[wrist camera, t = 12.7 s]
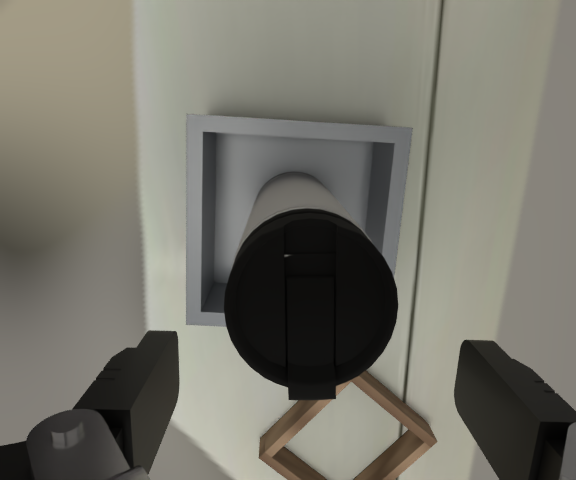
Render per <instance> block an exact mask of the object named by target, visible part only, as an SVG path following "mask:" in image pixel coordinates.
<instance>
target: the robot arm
mask: <svg viewBox="0 0 576 480" xmlns="http://www.w3.org/2000/svg"><path fill="white" fill-rule="evenodd" d="M178 393H179V355H178V336H177V332H176V331H151V330H150V331H148V332H147V333H146V334H145V336H144V337H143V339H142V340H141V342H140V343H139V345H138V346H137V348H126V349H124V350H123V351H121V352H120V353H118V354H116V355H115V356H113V357H112V358H111V359H110V361H109V362H108V363H107V364H106V366H105V367H104V370H103V371H101V372H100V374H99V375H98V376H97V378H96V380H95V381H94V382H93V383H92V384H91V386H90V387H89V388H88V389H87V391H86V392H85V393H84V394H83V396H82V397H81V398H80V400H79V401H78V402H77V404H76V405H75V406H74V408H73V409H72V410H67V411H63V412H60V413H57V414H54V415H52V416H50V417H48V418H46V419H44V420H43V421H41V422H40V423H39V424H37V425H36V426H35V427H34V428H33V429H32V430H31V431H30V433H29V434H28V436H27V440H26V441H23V442H19V443H14V444H8V445H4V446H0V480H150V478H149V477H148V474H149V471H150V469H151V466H152V464H153V461H154V459H155V456H156V454H157V451H158V449H159V446H160V444H161V441H162V439H163V436H164V434H165V431H166V429H167V426H168V424H169V421H170V419H171V416H172V414H173V411H174V409H175V406H176V403H177V399H178ZM454 399H455V405H456V408H457V411H458V413H459V415H460V416H461V418H462V420H463V421H464V423H465V425H466V426H467V428H468V429H469V431H470V433H471V434H472V436H473V438H474V439H475V441H476V442H477V444H478V446H479V447H480V449H481V450H482V452H483V454H484V455H485V457H486V459H487V460H488V462H489V463H490V465H491V467H492V468H493V470H494V471H495V473H496V475H497V476H498V478H499V480H576V411H575V410H574V409H573V408H572V407H571V406H570V405H569V404H568V403H567V402H566V401H565V400H563V399H562V398H561V397H560V396H559V395H558V394H557V393H555V392H554V390H553V389H552V388H551V387H550V386H549V385H548V384H547V383H544V380H543V379H542V378H541V377H540V376H538V375H537V374H536V373H535V372H534V371H533V370H532V369H531V368H529V367H527V366H525V365H524V364H522V363H520V362H518V361H517V360H515V359H511V358H510V357H509V356H508V355H507V354H506V353H505V352H504V351H503V350H502V349H501V348H500V347H499V346H498V345H497V344H496V343H495V342H494V341H487V340H464V341H463V343H462V345H461V348H460V354H459V361H458V368H457V375H456V381H455V388H454Z"/></svg>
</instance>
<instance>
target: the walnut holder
mask: <svg viewBox="0 0 576 480" xmlns="http://www.w3.org/2000/svg"><path fill="white" fill-rule="evenodd" d="M350 382H353V383H354V384H355V385H356V386H357V387H359V388H360V389H361V390H362V391H363V392H365V393H366V394H367V395H368V396H369V397H371V398H372V399H373V400H374V401H375V402H377V403H378V404H379V405H380V406H381V407H383V408H384V409H385V410H386V411H388V412H389V413H390V414H391V415H392V416H394V417H395V418H396V419H397V420H398V421H400V422H401V423H402V424H403V425H404V426H406V427H407V428H408V429H409V430H408V431H407V432H406V433H405V434H404V435H403V436H401V437H400V438H399V439H398V440H397V441H396V442H395V443H394V444H393V445H391V446H390V447H389V448H388V449H387V450H386V451H385V452H384V453H383V454H381V455H380V456H379V457H378V458H377V459H376V460H375V461H374V462H373V463H371V464H370V465H369V466H368V467H367V468H366V469H365V470H364V471H363V472H361V473H360V474H359V475H358V476H357V477H356V478H355V479H354V480H394V479H396V478H397V477H398V476H399V475H400V474H401V473H402V472H404V471H405V470H406V469H407V468H408V467H409V466H410V465H411V464H413V463H414V462H415V461H416V460H417V459H418V458H419V457H421V456H422V455H423V454H424V453H425V452H426V451H427V450H429V449H430V448H431V447H432V446H433V445H434V444H435V443H436V442H437V440H436V438H435V436H434V434H433V432H432V430H431V428H430V426H429V424H428V423H427V422H426V421H425V420H424V419H423V418H421V417H420V416H419V415H418V414H417V413H415V412H414V411H413V410H412V409H411V408H410V407H408V406H407V405H406V404H405V403H404V402H402V401H401V400H400V399H399V398H398V397H396V396H395V395H394V394H393V393H392V392H391V391H389V390H388V389H387V388H386V387H385V386H383V385H382V384H381V383H380V382H379V381H378V380H376V379H375V378H374V377H373V376H372V375H370V374H369V373H368V372H367V371H366V370H365V371H364V372H363V373H362V374H360V375H359V376H358V377H356V378H354V379H352V380H350V381H348V382H346V383H343V384H340V385H338V386H336V395H338V394H339V393H340V392H341V391H342V390H343V389H344V388H345V387H346V386H347V385H348V384H349V383H350ZM331 400H332V399H329V400H299V401H298V402H297V403H296V404H295V405H294V406H293V407H292V408H291V409H290V410H289V411H288V412H287V413H286V414H285V415H284V416H283V417H282V418H281V419H279V420H278V421H277V422H276V423H275V424H274V425H273V426H272V427H271V428H270V429H269V430H268V431H267V432H266V433H265V434H264V435H263V436H262V437H261V438H260V447H259V459H261V460H262V461H263V462H265V463H266V464H267V465H269V466H270V467H271V468H273V469H274V470H275V471H277V472H278V473H279V474H281V475H282V476H283V477H285V478H286V479H287V480H327V479H325V478H324V477H323V476H321V475H320V474H319V473H318V472H316V471H315V470H314V469H312V468H311V467H310V466H308V465H307V464H306V463H304V462H303V461H302V460H301V459H299V458H298V457H297V456H295V455H294V454H293V453H291V452H290V451H289V450H287V449H286V448H285V447H284V445H285V444H286V443H287V442H288V441H289V440H290V439H291V438H292V437H294V436H295V435H296V434H297V433H298V432H299V431H300V430H301V429H302V428H303V427H304V426H305V425H306V424H307V423H308V422H309V421H310V420H311V419H312V418H313V417H314V416H316V415H317V414H318V413H319V412H320V411H321V410H322V409H323V408H324V407H325V406H326V405H327V404H328V403H329V402H330V401H331Z"/></svg>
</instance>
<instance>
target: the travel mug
mask: <svg viewBox="0 0 576 480" xmlns="http://www.w3.org/2000/svg"><path fill="white" fill-rule="evenodd" d="M397 311H398V297H397V288H396V284H395V281H394V277H393V274H392V271H391V269H390V268H389V266H388V264H387V262H386V260H385V258H384V257H383V255H382V254H381V253H380V252H379V251H378V249H377V248H376V247H375V246H374V244H373V243H372V241H371V239H370V238H369V237H368V236H367V234H366V233H365V232H364V231H363V229H362V228H361V227H360V226H359V225H358V224H357V222H356V221H355V220H354V219H353V218H352V217H351V216H350V214H349V213H348V212H347V211H346V210H345V209H344V208H343V206H342V205H341V204H340V203H339V202H338V201H337V200H336V198H335V197H334V196H333V195H332V194H331V193H330V191H329V190H328V189H327V188H326V187H325V186H324V185H323V183H321V182H320V181H319V180H318V179H317V178H315V177H313V176H311V175H309V174H306V173H303V172H294V171H293V172H285V173H282V174H279V175H277V176H275V177H273V178H271V179H270V180H269V181H268V182H266V183H265V184H264V186H263V187H262V188H261V189H260V191H259V193H258V195H257V197H256V200H255V202H254V205H253V208H252V211H251V213H250V216H249V219H248V221H247V224H246V227H245V230H244V232H243V235H242V238H241V240H240V243H239V246H238V249H237V252H236V254H235V257H234V261H233V265H232V268H231V272H230V275H229V279H228V282H227V286H226V289H225V297H224V314H225V322H226V327H227V330H228V332H229V335H230V338H231V341H232V343H233V344H234V346H235V348H236V349H237V351H238V353H239V355H240V356H241V357H242V358H243V359H244V360H245V361H246V363H247V364H248V365H249V366H250V367H251V368H252V369H254V370H255V371H256V372H258V373H259V374H260V375H262V376H263V377H264V378H266V379H268V380H270V381H272V382H274V383H276V384H279V385H282V386H285V387H288V393H289V400H329V399H336V386H338V385H340V384H343V383H346V382H348V381H350V380H352V379H354V378H356V377H358V376H359V375H360V374H362V373H363V372H364V371H365V370H367V369H368V368H369V367H370V366H372V365H373V363H374V362H375V361H376V360H377V359H378V357H379V356H380V355H381V354H382V353H383V351H384V349H385V348H386V346H387V344H388V342H389V340H390V339H391V336H392V333H393V330H394V327H395V324H396V319H397Z"/></svg>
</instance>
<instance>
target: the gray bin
mask: <svg viewBox="0 0 576 480" xmlns="http://www.w3.org/2000/svg"><path fill="white" fill-rule="evenodd" d="M412 129H413V128H409V127H393V126H376V125H360V124H344V123H328V122H312V121H295V120H279V119H263V118H247V117H231V116H214V115H198V114H187V136H186V325H201V326H223V327H226V322H225V314H224V297H225V289H226V286H227V282H228V279H229V275H230V272H231V268H232V265H233V261H234V257H235V254H236V252H237V249H238V246H239V243H240V240H241V238H242V235H243V232H244V230H245V227H246V224H247V221H248V219H249V216H250V213H251V211H252V208H253V205H254V202H255V200H256V197H257V195H258V193H259V191H260V189H261V188H262V187H263V186H264V184H265V183H266V182H268V181H269V180H270V179H271V178H273V177H275V176H277V175H279V174H282V173H285V172H293V171H294V172H303V173H306V174H309V175H311V176H313V177H315V178H317V179H318V180H319V181H320V182H321V183H323V185H324V186H325V187H326V188H327V189H328V190H329V191H330V193H331V194H332V195H333V196H334V197H335V198H336V200H337V201H338V202H339V203H340V204H341V205H342V206H343V208H344V209H345V210H346V211H347V212H348V213H349V214H350V216H351V217H352V218H353V219H354V220H355V221H356V222H357V224H358V225H359V226H360V227H361V228H362V229H363V231H364V232H365V233H366V234H367V236H368V237H369V238H370V239H371V241H372V243H373V244H374V246H375V247H376V248H377V249H378V251H379V252H380V253H381V254H382V255H383V257H384V258H385V260H386V262H387V264H388V266H389V268H390V269H391V271H392V274H393V277H394V274H395V266H396V258H397V250H398V242H399V234H400V226H401V218H402V210H403V201H404V193H405V185H406V177H407V169H408V161H409V153H410V145H411V137H412Z"/></svg>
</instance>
